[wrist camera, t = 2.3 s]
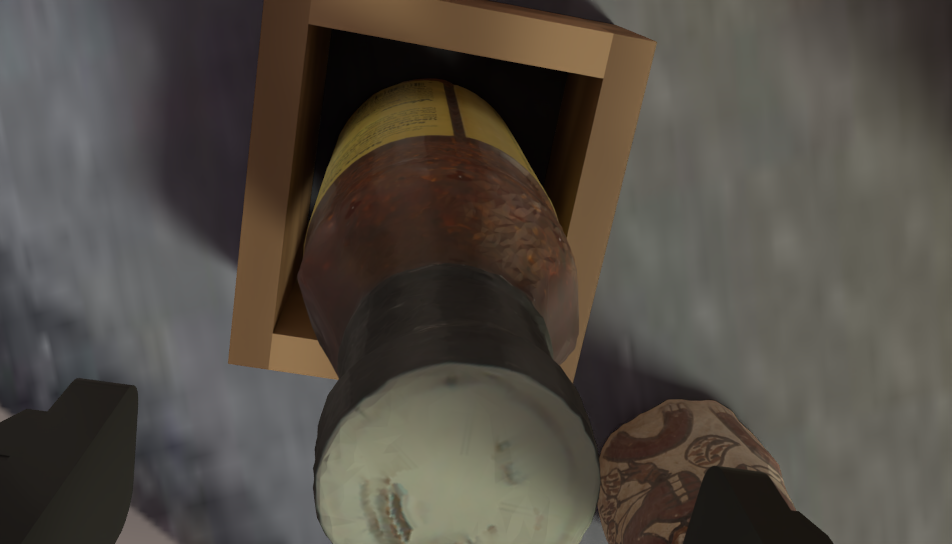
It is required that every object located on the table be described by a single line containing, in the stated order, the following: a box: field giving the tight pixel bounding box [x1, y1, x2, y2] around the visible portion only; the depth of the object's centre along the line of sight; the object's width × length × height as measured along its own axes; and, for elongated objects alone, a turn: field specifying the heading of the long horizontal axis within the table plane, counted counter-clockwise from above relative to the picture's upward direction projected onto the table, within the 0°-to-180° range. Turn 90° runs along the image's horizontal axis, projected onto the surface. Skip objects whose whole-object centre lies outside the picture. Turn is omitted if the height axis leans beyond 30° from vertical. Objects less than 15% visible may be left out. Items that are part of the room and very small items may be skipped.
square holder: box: [228, 0, 657, 383], centre depth 28 cm, size 10×11×6 cm
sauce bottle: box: [297, 78, 601, 544], centre depth 21 cm, size 7×6×20 cm
